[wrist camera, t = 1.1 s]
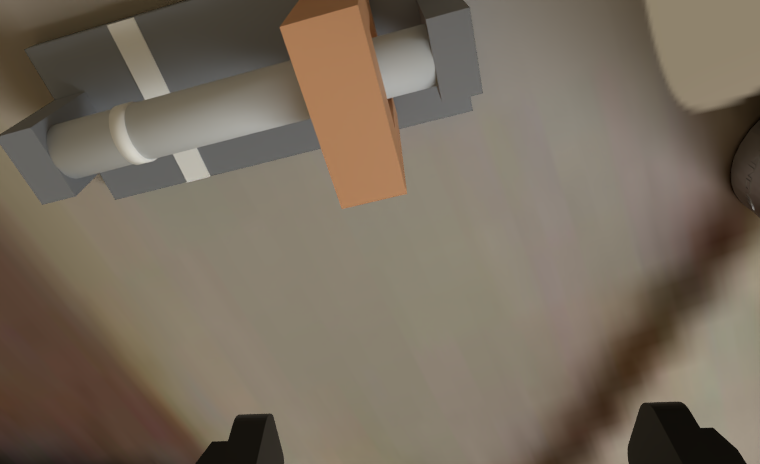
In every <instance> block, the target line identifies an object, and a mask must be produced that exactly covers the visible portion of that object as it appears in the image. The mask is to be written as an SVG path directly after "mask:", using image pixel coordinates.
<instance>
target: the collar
mask: <svg viewBox="0 0 760 464" xmlns="http://www.w3.org/2000/svg"><path fill="white" fill-rule="evenodd" d="M280 30H281V33H282V36H283V39H284V42H285V45H286V48H287V51H288V53H289V56H290V59H291V62H292V65H293V68H294V71H295V74H296V77H297V80H298V83H299V85H300V88H301V91H302V94H303V97H304V100H305V103H306V106H307V109H308V112H309V115H310V118H311V120H312V123H313V126H314V129H315V132H316V135H317V138H318V141H319V144H320V147H321V150H322V152H323V155H324V158H325V161H326V164H327V167H328V170H329V173H330V176H331V179H332V182H333V184H334V187H335V190H336V193H337V196H338V199H339V202H340V205H341V208H342V209H344V208H348V207H352V206H357V205H361V204H365V203H369V202H374V201H378V200H382V199H387V198H391V197H395V196H399V195H404V194H407V190H406V182H405V173H404V165H403V157H402V149H401V141H400V133H399V125H398V117H397V112H396V108H395V104H394V100H393V98H389V99H387V96H386V92H385V88H384V84H383V80H382V76H381V72H380V68H379V64H378V61H377V57H376V53H375V49H374V45H373V41H372V38H374V37H377V32H376V28H375V24H374V20H373V16H372V12H371V8H370V4H369V0H299V1H298V2H297V4H296V5H295V6H294V8H293V9H292V10H291V12H290V13H289V14H288V16H287V17H286V19H285V20H284V21H283V23H282V24H281V25H280Z"/></svg>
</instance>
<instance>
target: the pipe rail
mask: <svg viewBox="0 0 760 464" xmlns="http://www.w3.org/2000/svg"><path fill="white" fill-rule="evenodd" d="M298 1H299V0H185V1H182V2H178V3H175V4H172V5H168V6H165V7H161V8H158V9H155V10H151V11H148V12H144V13H141V14H138V15H134V16H131V17H128V18H124V19H121V20H117V21H114V22H111V23H107V24H104V25H100V26H97V27H94V28H90V29H87V30H84V31H80V32H77V33H73V34H70V35H67V36H63V37H60V38H57V39H53V40H50V41H46V42H43V43H40V44H36V45H34V46H31V47H29V48H27V49H24V50H25V52H26V53H27V55H28V57H29V58H30V60H31V62H32V63H33V65H34V67H35V68H36V70H37V72H38V73H39V75H40V77H41V78H42V80H43V81H44V83H45V85H46V86H47V88H48V90H49V91H50V93H51V95H52V96H53V98H54V101H52V102H51V103H49V104H48V105H46V106H44V107H43V108H41V109H40V110H38V111H36V112H35V113H33V114H32V115H30V116H28V117H27V118H25V119H24V120H22V121H21V122H19V123H17V124H16V125H14V126H13V127H11V128H9V129H8V130H6V131H5V132H3V133H1V134H0V145H1V146H2V148H3V149H4V150H5V152H6V153H7V155H8V156H9V158H10V159H11V160H12V162H13V163H14V165H15V166H16V168H17V169H18V170H19V172H20V173H21V175H22V176H23V178H24V179H25V180H26V182H27V183H28V185H29V186H30V188H31V189H32V191H33V192H34V193H35V195H36V196H37V198H38V199H39V201H40V202H41V203H42V205H43V204H47V203H51V202H55V201H59V200H63V199H67V198H71V197H75V196H76V195H77V194H78V193H79V192H80V191H81V190H82V189H83V188H84V187H85V186H86V185H87V184H88V183H89V182H90V181H91V180H92V179H93V178H94V177H95V176H96V175H97V174H98V173H100V175H101V177H102V178H103V180H104V182H105V183H106V185H107V187H108V188H109V190H110V192H111V193H112V195H113V196H114V198H115V200H117V199H121V198H125V197H129V196H133V195H137V194H141V193H145V192H149V191H153V190H157V189H161V188H165V187H169V186H173V185H177V184H181V183H185V182H191V181H195V180H199V179H203V178H207V177H210V176H213V175H217V174H221V173H225V172H229V171H233V170H237V169H241V168H245V167H249V166H253V165H257V164H261V163H265V162H269V161H273V160H277V159H281V158H285V157H289V156H293V155H297V154H301V153H305V152H309V151H313V150H317V149H321V147H320V144H319V141H318V138H317V135H316V132H315V129H314V126H313V123H312V120H311V118H310V115H309V112H308V109H307V106H306V103H305V100H304V97H303V94H302V91H301V88H300V85H299V83H298V80H297V77H296V74H295V71H294V68H293V65H292V62H291V59H290V56H289V53H288V51H287V48H286V45H285V42H284V39H283V36H282V33H281V30H280V25H281V24H282V23H283V21H284V20H285V19H286V17H287V16H288V14H289V13H290V12H291V10H292V9H293V8H294V6H295V5H296V4H297V2H298ZM369 4H370V8H371V12H372V16H373V20H374V24H375V28H376V32H377V37H374V38H372V41H373V45H374V49H375V53H376V57H377V61H378V64H379V68H380V72H381V76H382V80H383V84H384V88H385V92H386V96H387V99H389V98H393V100H394V104H395V108H396V112H397V117H398V125H399V129H401V128H405V127H409V126H413V125H417V124H421V123H425V122H429V121H433V120H437V119H441V118H445V117H449V116H453V115H457V114H461V113H465V112H469V111H473V109H472V103H471V97H470V96H474V95H478V94H482V93H483V91H482V84H481V78H480V71H479V64H478V58H477V51H476V45H475V38H474V32H473V25H472V19H471V12H470V7H469V6H468V5H467V4H466V3H465V2H464V1H463V0H369Z"/></svg>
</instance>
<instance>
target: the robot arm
mask: <svg viewBox="0 0 760 464" xmlns="http://www.w3.org/2000/svg"><path fill="white" fill-rule="evenodd" d="M731 184H732V187H733V190H734V193H735V195H736V196H737V197H738V199H739V200H740V202H742V203H743V204H744V205H745V206H746V207H748V208H749V209H750V210H751V211H753V212H754V213H755V214H756V215H757V216H759V217H760V120H759V121H758V122H757V123H756V124H755V125H754V126H753V128H752V129H751V130H750V131H749V132H748V134H747V135H746V137H745V138H744V139H743V141H742V142H741V144H740V146H739V148H738V150H737V152H736V154H735V157H734V160H733V164H732V168H731ZM628 462H629V464H746V462H745V461H744V459H743V458H742V456H741V454H740V453H739V451H738V450H737V449H736V448H735V447H734V446H733V445H732V444H731V443H729V442H728V441H727V440H726V439H725V438H724V437H723V436H722V435H720V434H719V433H718V432H717V431H716V430H715V429H714V428H700V427H699V425H698V424H697V422H696V420H695V419H694V417H693V415H692V414H691V412H690V410H689V409H688V408H687V406H686V405H685V404H683V403H682V402H654V403H643V404H642V405H641V406H640V409H639V412H638V415H637V419H636V422H635V425H634V428H633V431H632V435H631V438H630V441H629V444H628ZM196 464H284V457H283V452H282V448H281V444H280V440H279V436H278V432H277V429H276V425H275V421H274V417H273V415H272V414H246V415H238V416H236V418H235V420H234V423H233V426H232V429H231V433H230V436H229V440H228V441H218V442H211V444H210V445H209V446H208V448H207V449H206V450H205V452H204V453H203V454H202V456H201V457H200V458H199V460H198V461H197V462H196Z"/></svg>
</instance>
